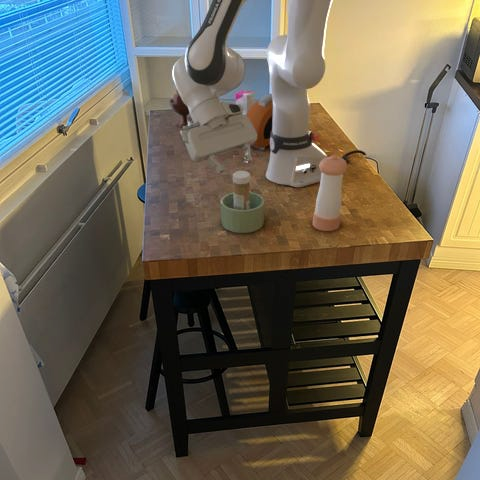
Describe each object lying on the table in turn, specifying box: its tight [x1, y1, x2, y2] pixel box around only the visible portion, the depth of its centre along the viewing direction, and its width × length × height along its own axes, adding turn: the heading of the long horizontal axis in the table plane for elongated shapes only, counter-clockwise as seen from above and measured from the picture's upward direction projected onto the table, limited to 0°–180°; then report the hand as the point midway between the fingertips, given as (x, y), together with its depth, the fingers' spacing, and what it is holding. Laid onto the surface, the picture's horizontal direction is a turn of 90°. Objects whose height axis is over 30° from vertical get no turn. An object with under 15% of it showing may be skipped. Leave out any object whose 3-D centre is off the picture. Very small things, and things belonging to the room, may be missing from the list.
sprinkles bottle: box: [232, 170, 251, 210], centre depth 126 cm, size 5×5×14 cm
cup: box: [220, 191, 265, 234], centre depth 129 cm, size 12×12×6 cm
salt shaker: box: [312, 154, 348, 232], centre depth 123 cm, size 7×7×19 cm
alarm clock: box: [246, 93, 273, 151], centre depth 172 cm, size 23×9×17 cm, turn 129°
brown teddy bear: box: [169, 89, 190, 128], centre depth 188 cm, size 11×11×15 cm
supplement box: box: [234, 90, 255, 115], centre depth 191 cm, size 6×6×12 cm
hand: (235, 166), depth 123 cm, fingers open, 8 cm apart
